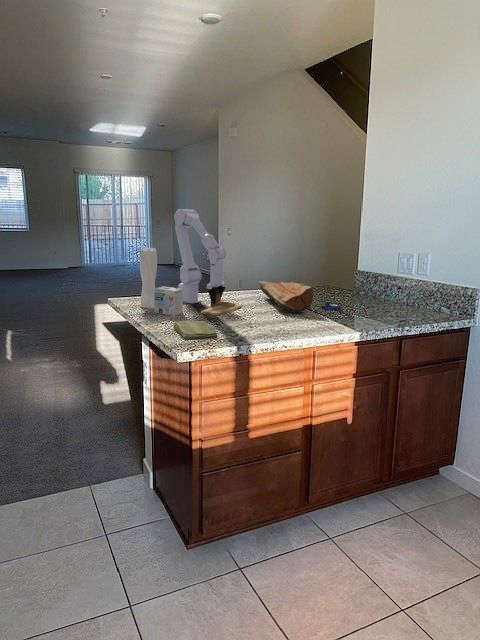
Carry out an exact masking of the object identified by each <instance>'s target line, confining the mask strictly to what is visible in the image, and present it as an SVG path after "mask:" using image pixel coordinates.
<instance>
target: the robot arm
mask: <svg viewBox="0 0 480 640" xmlns="http://www.w3.org/2000/svg"><path fill="white" fill-rule="evenodd" d="M173 218H174V222H175V223H174V224H175V226H174V227H175V234H176V239H177V243H178V248H179V252H180V253H179V254H180V257H181V258H180V259H181V262H182V266H181V267H180V268H179V272H180V273H179V279H180V281H181V282H180V283H179V284H178V286H177V288H179V289H183V303H185V304H186V303H187V304H196V303H200V302H202V300H200V299H199V284H200V282H201V280H202V278H203V277H202V272H201V270H200V268H199V265H198V264H196V263H195V260H194V256H193V251H192V247H191V242H190V237H189V232H188V231H189V230H190V229H189V228H191V227H192V228H193V229H194V230H195V231H196V233H197V234H198V235H199V236H200V238H201V241H200V242H201V243H202V245H203V247H204V248H205V250H206V251H207V252H208V253H207V257H208V258H209V263H210V269H209V270H210V271H209V273H210V275H209V278H210V279H209V280H210V281H209V282H208V283H207V284H206V291H207V293H208V296H209V300H210V304H211V303H214V304H215V303H216V299H217V294H218V293H220V294H221V296H220V301H222V297H223V293H224V291H225V290H226V281H223V280H224V279H223V277H224V276H223V273H224V259H225V258H226V255H227V253H226V251H227V250H226V249H225V247H223V246H221V245H219V243H218V242H217V241H216V239H215V236H214V235H213V234H211V233H208V231H207V230H206V229H205V227H204V224H203V223H202V221H201V220H200V215H199V213H198V212H197V211H196V210H195V209H184V208H179V209H177V210H176V211H175V213H174V215H173Z"/></svg>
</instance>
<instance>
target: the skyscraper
mask: <svg viewBox="0 0 480 640" xmlns="http://www.w3.org/2000/svg"><path fill="white" fill-rule="evenodd" d="M139 247H140V257H139V272H140V278H141V283H142V286H141V294H140V295H141V297H140V308H147V309H154V295H155V288H156V284H155V283H156V282H155V281H156V278H157V270H158V254H157V249H156V248H154V247H145V246H144V245H143V244H140V245H139Z"/></svg>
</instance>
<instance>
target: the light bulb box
mask: <svg viewBox="0 0 480 640" xmlns="http://www.w3.org/2000/svg"><path fill="white" fill-rule="evenodd" d="M183 307H184V302H183V289H179V288H178V287H171V286H159V287H155V295H154V307H153V309H154V311H153V312H154V313H155V314H160V315H161V314H162V315H167V316H173V317H175V316H178V315H182V314H183V311H184V308H183Z"/></svg>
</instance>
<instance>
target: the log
mask: <svg viewBox="0 0 480 640" xmlns="http://www.w3.org/2000/svg"><path fill="white" fill-rule="evenodd" d="M258 285H259V288H260V290H261V292H262V293H263V294H264V295H265V296H266V297H268V298H269V299H270V300H273V302H274V303H276V305H277V306H279V307H280V309H285V310H287V311H288V312H290V313H299V312H303V311H305V310H307V309H309V307H310V306H311V305H312V304H313V300H314V290H313V287H312V286H308V285H306V284H305V283H304V282H302V283H297V282H296V281H290V282H285V281H281V282H270V281H265V280H259V283H258Z"/></svg>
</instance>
